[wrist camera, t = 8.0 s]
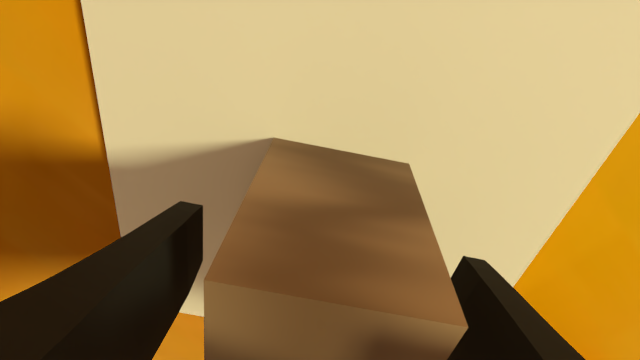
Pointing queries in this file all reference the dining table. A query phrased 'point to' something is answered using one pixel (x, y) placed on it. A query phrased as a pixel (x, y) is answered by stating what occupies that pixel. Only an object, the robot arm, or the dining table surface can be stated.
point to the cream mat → (368, 105)
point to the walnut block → (330, 265)
